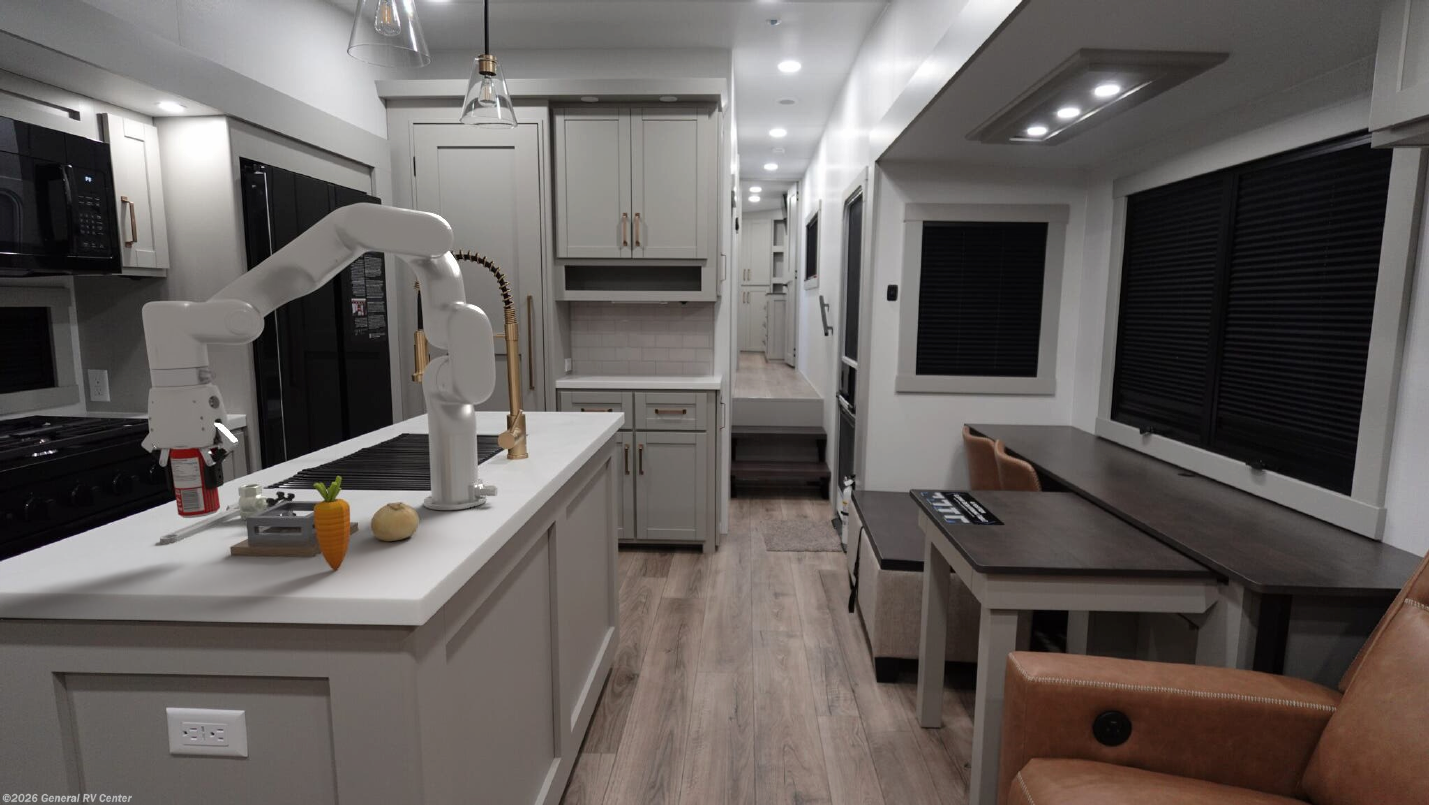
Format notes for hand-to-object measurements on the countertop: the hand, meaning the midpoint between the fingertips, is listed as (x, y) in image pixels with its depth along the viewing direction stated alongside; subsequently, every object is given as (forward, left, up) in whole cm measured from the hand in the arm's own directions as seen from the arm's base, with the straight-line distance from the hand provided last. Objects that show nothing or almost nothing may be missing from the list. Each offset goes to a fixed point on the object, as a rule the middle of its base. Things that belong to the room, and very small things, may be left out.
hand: (196, 486), depth 112 cm
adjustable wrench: (+12, -19, -12) cm, 25 cm away
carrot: (-25, +6, -12) cm, 29 cm away
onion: (-27, -10, -12) cm, 32 cm away
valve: (+3, -20, -12) cm, 23 cm away
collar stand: (-11, -7, -12) cm, 18 cm away
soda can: (0, 0, -5) cm, 5 cm away
